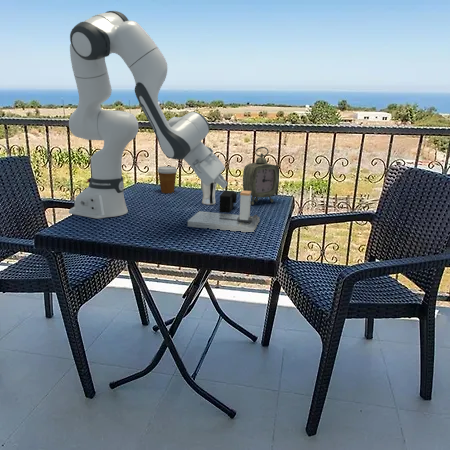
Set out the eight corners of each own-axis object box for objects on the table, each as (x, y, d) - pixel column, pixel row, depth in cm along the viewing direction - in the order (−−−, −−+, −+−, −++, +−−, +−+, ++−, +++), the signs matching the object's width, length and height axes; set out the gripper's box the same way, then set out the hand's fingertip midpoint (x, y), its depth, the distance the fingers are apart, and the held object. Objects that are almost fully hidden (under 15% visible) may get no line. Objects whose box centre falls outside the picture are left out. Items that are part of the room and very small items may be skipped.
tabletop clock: (250, 206, 169) (253, 148, 162) (239, 201, 177) (242, 146, 169) (277, 203, 176) (281, 147, 169) (265, 198, 184) (268, 145, 176)
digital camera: (232, 213, 159) (233, 196, 156) (219, 212, 159) (219, 195, 157) (236, 206, 168) (236, 191, 166) (223, 206, 169) (224, 190, 167)
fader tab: (236, 220, 140) (237, 192, 137) (239, 217, 144) (240, 190, 141) (250, 222, 139) (251, 193, 136) (252, 218, 143) (253, 191, 140)
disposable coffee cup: (155, 193, 187) (154, 168, 184) (161, 189, 196) (161, 165, 193) (174, 194, 186) (173, 169, 182) (179, 190, 195) (179, 166, 191)
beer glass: (216, 205, 169) (217, 171, 165) (200, 204, 169) (200, 170, 165) (216, 201, 176) (217, 168, 171) (201, 200, 176) (201, 168, 172)
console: (187, 226, 140) (187, 215, 139) (199, 216, 153) (199, 206, 152) (253, 233, 135) (253, 222, 133) (259, 221, 148) (260, 211, 146)
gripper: (197, 157, 127) (226, 188, 129) (211, 147, 146) (236, 174, 148) (184, 169, 129) (213, 200, 131) (200, 158, 148) (225, 184, 150)
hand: (225, 186), depth 140 cm, fingers closed
